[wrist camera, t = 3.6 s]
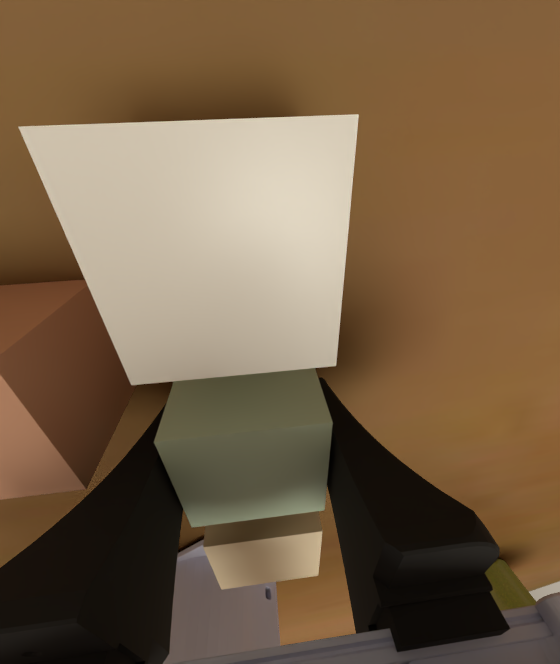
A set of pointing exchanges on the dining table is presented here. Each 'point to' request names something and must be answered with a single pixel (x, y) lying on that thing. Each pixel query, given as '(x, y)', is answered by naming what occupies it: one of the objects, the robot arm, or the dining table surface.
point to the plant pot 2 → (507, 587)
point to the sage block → (247, 445)
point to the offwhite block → (207, 237)
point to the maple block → (264, 549)
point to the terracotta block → (55, 388)
